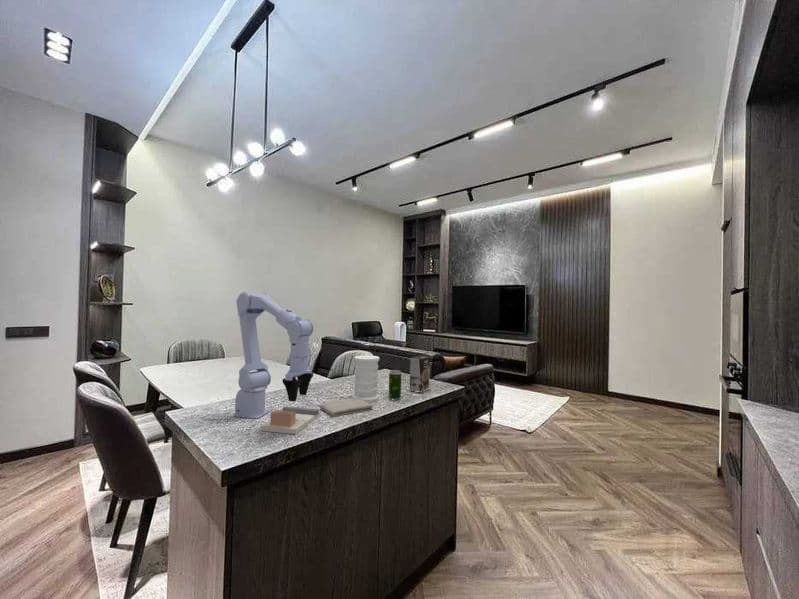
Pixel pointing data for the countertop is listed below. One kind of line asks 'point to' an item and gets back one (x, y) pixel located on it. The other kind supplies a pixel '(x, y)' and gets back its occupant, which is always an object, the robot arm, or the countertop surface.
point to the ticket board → (304, 414)
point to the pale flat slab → (283, 423)
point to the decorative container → (366, 378)
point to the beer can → (395, 384)
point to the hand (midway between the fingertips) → (297, 397)
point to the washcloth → (345, 406)
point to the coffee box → (419, 373)
